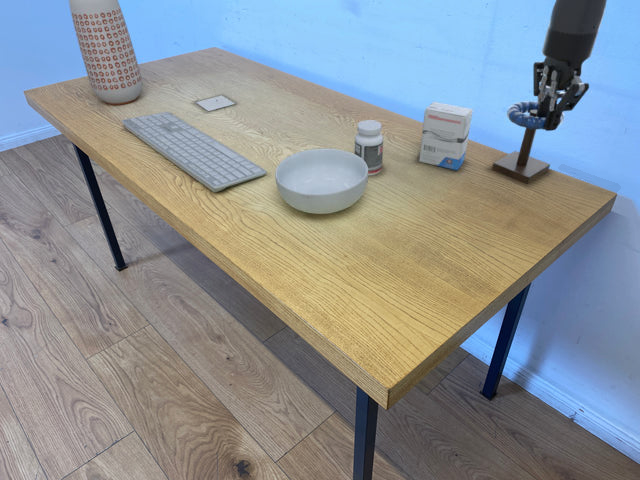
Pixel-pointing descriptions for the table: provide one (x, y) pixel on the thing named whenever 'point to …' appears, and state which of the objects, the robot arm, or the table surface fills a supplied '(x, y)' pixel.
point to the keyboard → (193, 150)
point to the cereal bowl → (321, 180)
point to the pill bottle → (370, 145)
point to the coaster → (215, 103)
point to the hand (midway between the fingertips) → (545, 125)
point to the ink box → (445, 135)
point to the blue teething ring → (524, 120)
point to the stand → (522, 160)
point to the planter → (106, 50)
